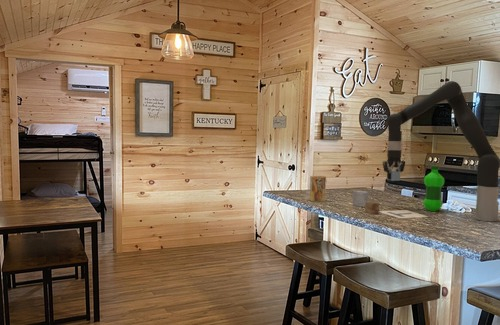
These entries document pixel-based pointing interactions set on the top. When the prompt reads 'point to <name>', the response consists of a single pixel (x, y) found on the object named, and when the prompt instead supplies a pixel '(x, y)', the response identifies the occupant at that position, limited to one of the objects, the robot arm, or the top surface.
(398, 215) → the board
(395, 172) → the slate cube
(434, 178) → the plastic bottle
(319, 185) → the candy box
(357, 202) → the medicine box
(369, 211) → the walnut block
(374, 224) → the top surface
